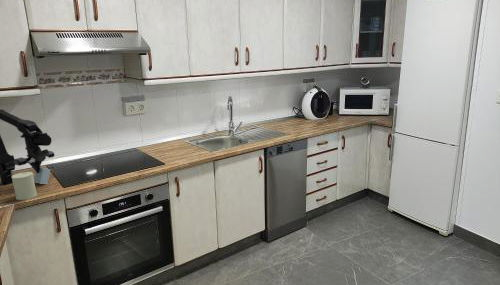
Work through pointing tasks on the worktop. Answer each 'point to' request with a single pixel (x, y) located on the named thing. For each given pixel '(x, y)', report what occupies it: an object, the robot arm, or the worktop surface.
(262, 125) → the worktop surface
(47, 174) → the light blue box
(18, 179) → the can
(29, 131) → the robot arm
